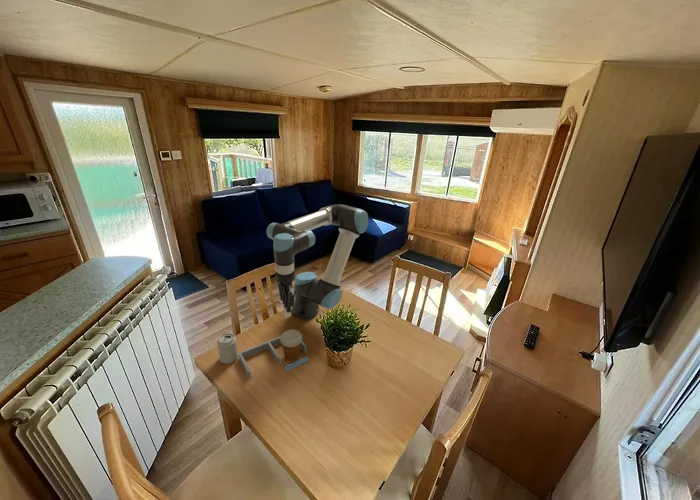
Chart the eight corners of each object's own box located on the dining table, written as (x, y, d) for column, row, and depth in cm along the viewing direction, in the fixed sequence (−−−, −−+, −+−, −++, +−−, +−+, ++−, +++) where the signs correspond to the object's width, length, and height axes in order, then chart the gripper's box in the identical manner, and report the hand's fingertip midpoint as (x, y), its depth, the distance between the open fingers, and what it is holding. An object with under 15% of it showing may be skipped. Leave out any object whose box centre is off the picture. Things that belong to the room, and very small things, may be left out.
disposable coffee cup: (276, 359, 125) (275, 338, 120) (290, 345, 133) (289, 326, 128) (293, 368, 122) (293, 347, 116) (306, 354, 129) (306, 334, 124)
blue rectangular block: (306, 357, 127) (306, 356, 127) (309, 360, 126) (309, 359, 126) (284, 367, 121) (284, 366, 121) (286, 371, 120) (286, 370, 119)
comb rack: (294, 336, 139) (294, 330, 138) (306, 352, 130) (306, 346, 129) (239, 358, 124) (238, 352, 122) (248, 378, 115) (247, 372, 114)
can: (241, 353, 127) (238, 332, 122) (233, 366, 120) (230, 345, 115) (225, 350, 127) (222, 330, 122) (216, 363, 121) (213, 342, 116)
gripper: (269, 266, 115) (273, 311, 126) (284, 280, 107) (287, 328, 117) (285, 261, 120) (288, 305, 130) (301, 275, 111) (302, 321, 122)
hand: (287, 316), depth 124 cm, fingers closed
